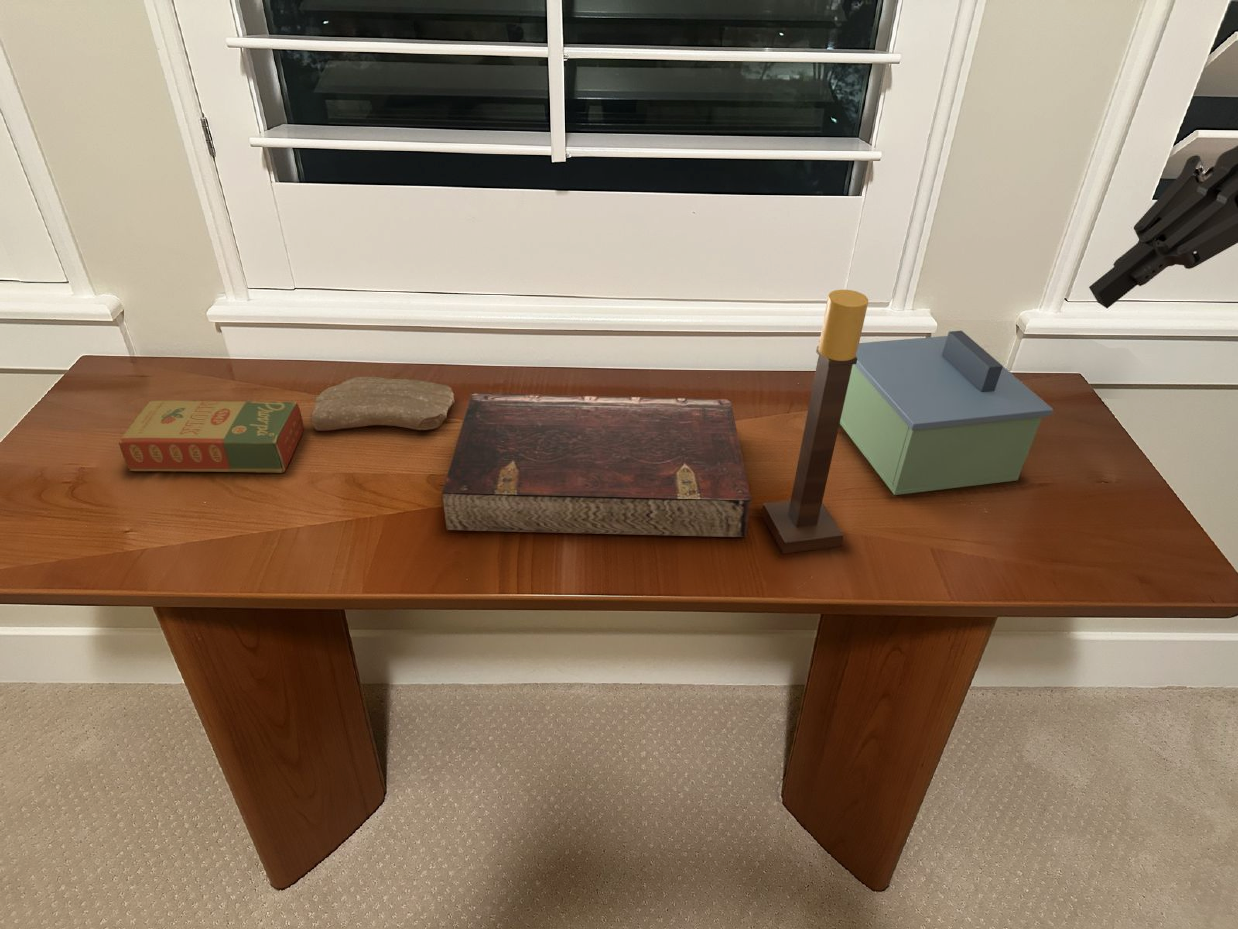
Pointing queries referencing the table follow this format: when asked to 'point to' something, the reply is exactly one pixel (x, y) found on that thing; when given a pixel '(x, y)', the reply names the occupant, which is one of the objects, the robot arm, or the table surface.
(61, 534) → the table surface
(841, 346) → the peg
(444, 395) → the decorative stone
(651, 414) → the hardback book
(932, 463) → the bin
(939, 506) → the table surface
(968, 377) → the lid
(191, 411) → the carton
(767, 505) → the stand
